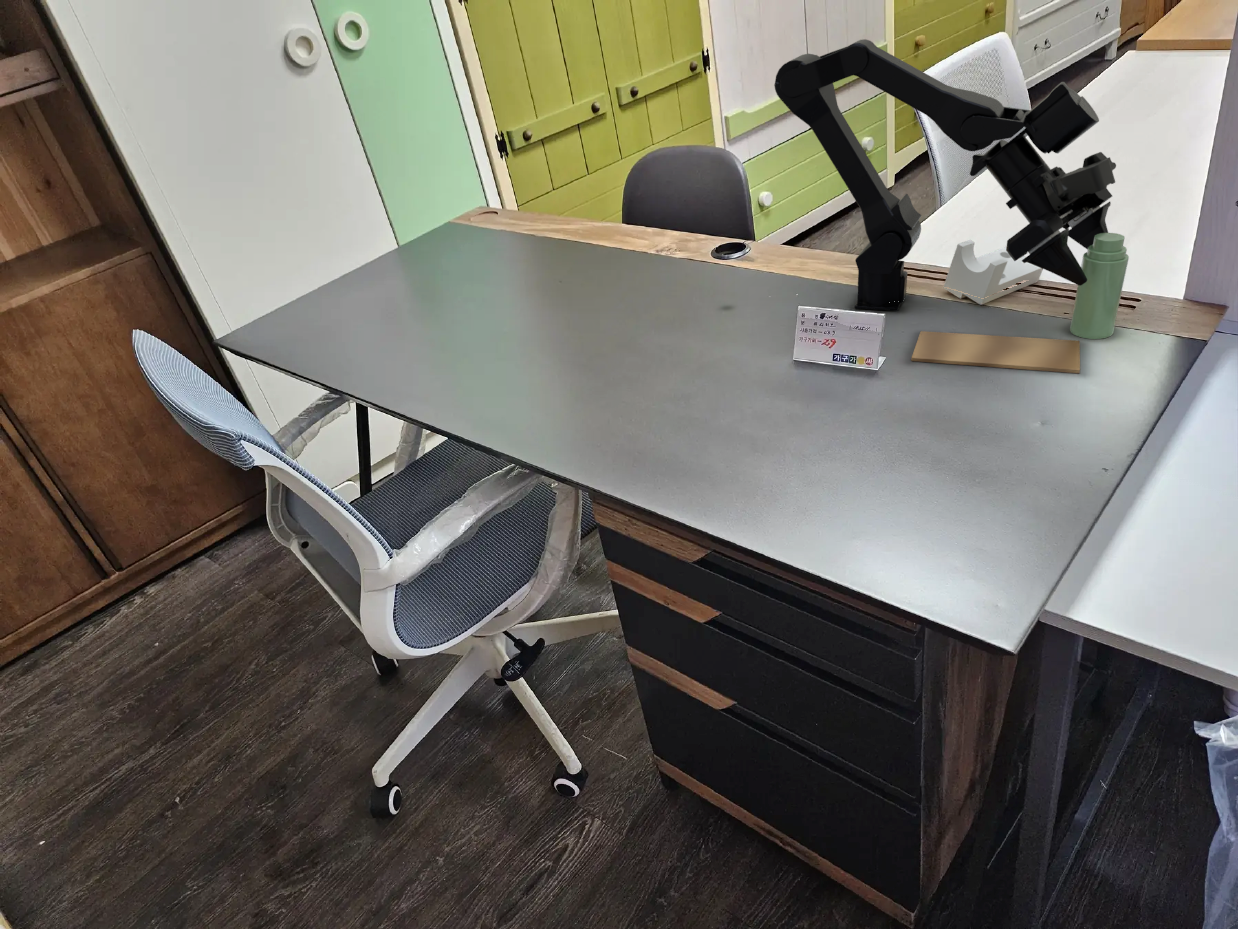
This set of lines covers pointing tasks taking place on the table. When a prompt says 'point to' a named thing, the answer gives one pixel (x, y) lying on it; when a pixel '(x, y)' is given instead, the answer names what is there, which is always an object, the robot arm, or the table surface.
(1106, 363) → the table surface
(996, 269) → the bracket
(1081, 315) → the bottle
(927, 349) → the cork pad
